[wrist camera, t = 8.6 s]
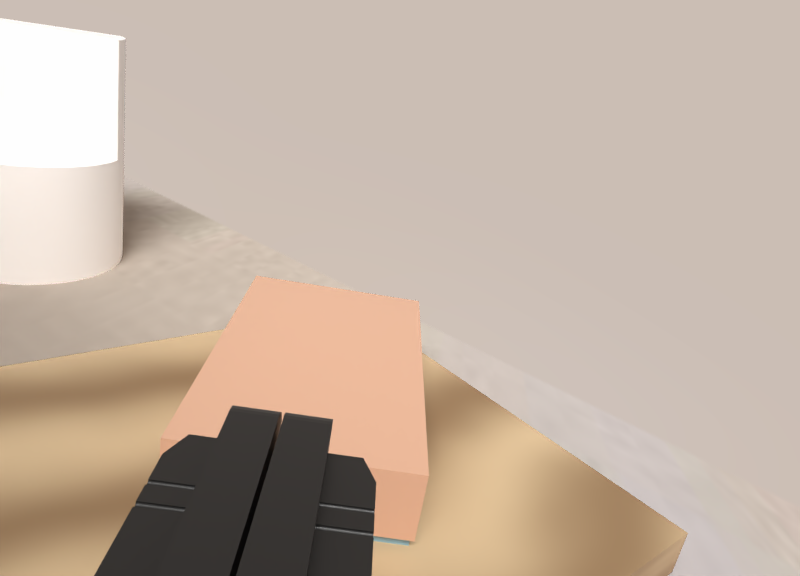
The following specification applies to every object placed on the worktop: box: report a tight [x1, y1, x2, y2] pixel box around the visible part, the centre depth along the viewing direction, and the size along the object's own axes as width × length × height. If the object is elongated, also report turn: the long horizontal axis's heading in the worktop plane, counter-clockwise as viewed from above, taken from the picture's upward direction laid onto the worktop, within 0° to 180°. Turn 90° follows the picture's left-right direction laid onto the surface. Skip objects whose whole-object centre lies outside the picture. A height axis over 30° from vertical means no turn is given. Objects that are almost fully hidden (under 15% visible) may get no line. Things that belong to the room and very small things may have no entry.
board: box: [0, 329, 688, 576], centre depth 21 cm, size 18×20×2 cm
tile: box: [160, 276, 429, 546], centre depth 23 cm, size 3×7×12 cm
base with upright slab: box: [0, 18, 126, 285], centre depth 35 cm, size 9×9×12 cm
